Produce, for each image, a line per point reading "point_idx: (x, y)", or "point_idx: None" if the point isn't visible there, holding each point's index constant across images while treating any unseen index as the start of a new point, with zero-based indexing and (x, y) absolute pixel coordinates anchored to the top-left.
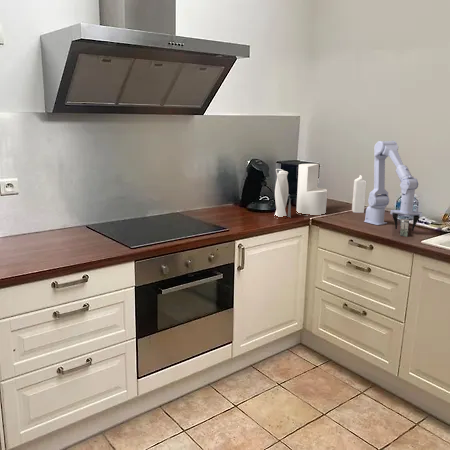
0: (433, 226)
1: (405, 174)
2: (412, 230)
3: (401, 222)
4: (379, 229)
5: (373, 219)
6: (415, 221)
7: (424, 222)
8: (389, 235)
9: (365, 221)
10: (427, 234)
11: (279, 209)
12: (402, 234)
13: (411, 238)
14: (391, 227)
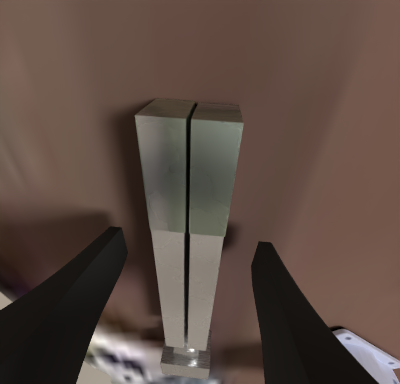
0: None
1: None
2: (115, 228)
3: (205, 349)
4: (375, 266)
5: (377, 377)
6: (9, 319)
7: (116, 361)
8: (376, 79)
9: (397, 362)
10: (31, 224)
11: None
12: (212, 105)
13: (99, 12)
14: None
